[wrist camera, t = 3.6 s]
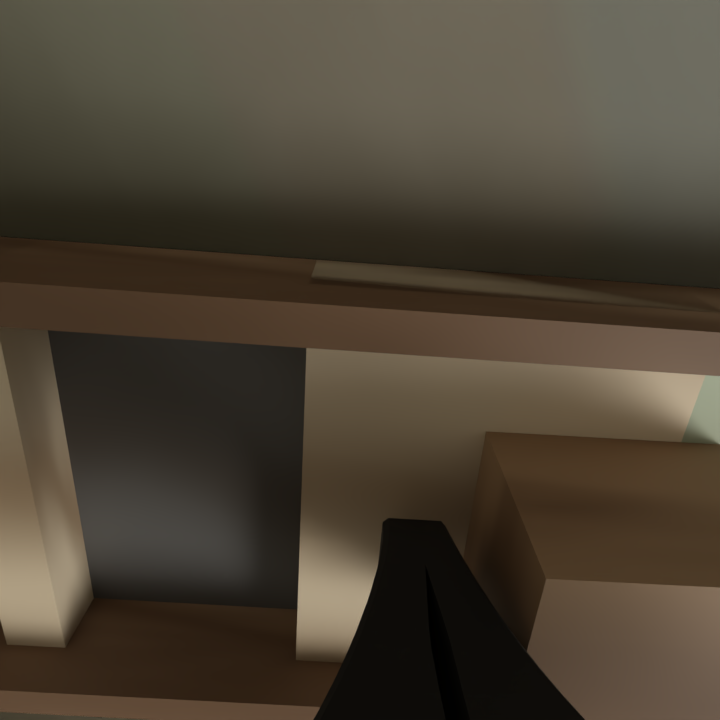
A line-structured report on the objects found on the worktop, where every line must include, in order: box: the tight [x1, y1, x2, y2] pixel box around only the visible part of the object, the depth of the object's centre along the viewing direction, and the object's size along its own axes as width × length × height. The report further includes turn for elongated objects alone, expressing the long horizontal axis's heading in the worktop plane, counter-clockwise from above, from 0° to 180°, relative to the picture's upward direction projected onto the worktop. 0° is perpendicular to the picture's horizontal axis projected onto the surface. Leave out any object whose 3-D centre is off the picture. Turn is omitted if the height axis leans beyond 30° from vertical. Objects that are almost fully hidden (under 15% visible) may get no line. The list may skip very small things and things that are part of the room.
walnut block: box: [463, 431, 720, 720], centre depth 10 cm, size 5×5×4 cm
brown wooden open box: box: [0, 237, 720, 720], centre depth 12 cm, size 11×30×4 cm, turn 86°
